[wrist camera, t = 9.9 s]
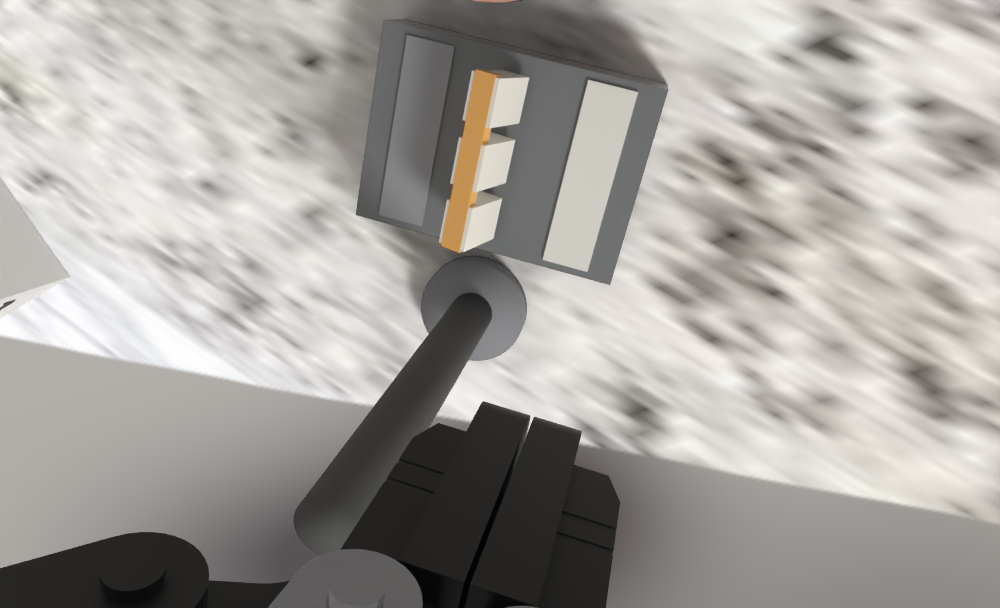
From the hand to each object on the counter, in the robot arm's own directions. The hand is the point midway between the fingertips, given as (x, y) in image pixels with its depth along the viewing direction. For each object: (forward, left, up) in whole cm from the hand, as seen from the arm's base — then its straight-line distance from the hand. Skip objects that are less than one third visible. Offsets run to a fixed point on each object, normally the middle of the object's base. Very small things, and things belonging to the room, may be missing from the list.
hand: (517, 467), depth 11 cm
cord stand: (+5, +11, -31) cm, 33 cm away
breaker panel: (+5, +2, -31) cm, 31 cm away
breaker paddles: (+5, +2, -28) cm, 28 cm away
